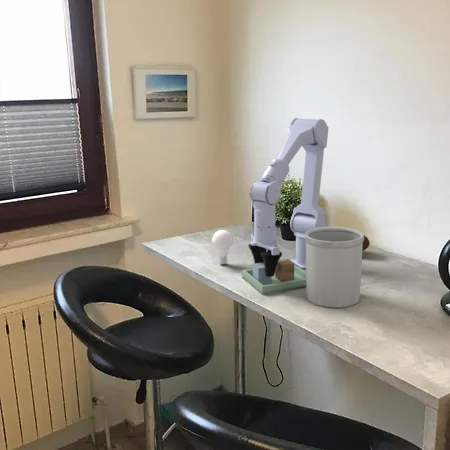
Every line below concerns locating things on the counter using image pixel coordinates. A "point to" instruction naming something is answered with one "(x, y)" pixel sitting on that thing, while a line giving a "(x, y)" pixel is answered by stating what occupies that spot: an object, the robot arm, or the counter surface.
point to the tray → (276, 282)
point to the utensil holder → (333, 266)
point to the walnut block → (284, 270)
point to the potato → (365, 243)
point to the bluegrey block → (261, 274)
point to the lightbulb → (222, 244)
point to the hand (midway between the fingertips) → (264, 272)
